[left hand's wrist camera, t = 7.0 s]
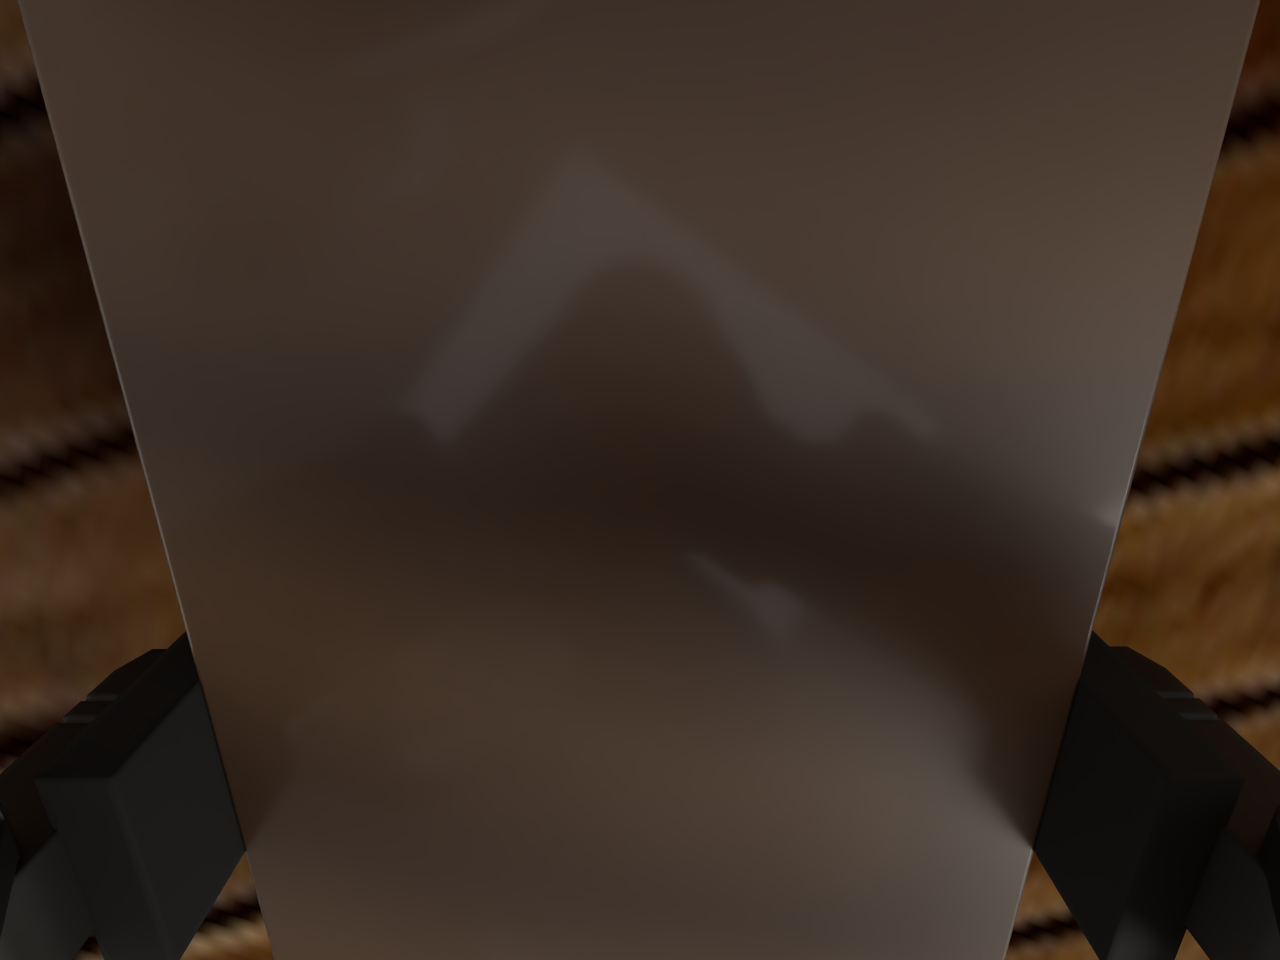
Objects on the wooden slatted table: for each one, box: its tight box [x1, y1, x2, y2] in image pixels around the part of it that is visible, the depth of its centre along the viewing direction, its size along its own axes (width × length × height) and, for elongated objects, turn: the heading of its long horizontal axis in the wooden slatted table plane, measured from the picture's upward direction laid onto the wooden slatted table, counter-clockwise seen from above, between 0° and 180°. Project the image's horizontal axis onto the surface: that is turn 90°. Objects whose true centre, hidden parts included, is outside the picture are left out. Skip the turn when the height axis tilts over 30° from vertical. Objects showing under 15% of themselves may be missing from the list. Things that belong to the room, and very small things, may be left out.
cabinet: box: [17, 0, 1260, 960], centre depth 13 cm, size 18×10×12 cm, turn 0°
